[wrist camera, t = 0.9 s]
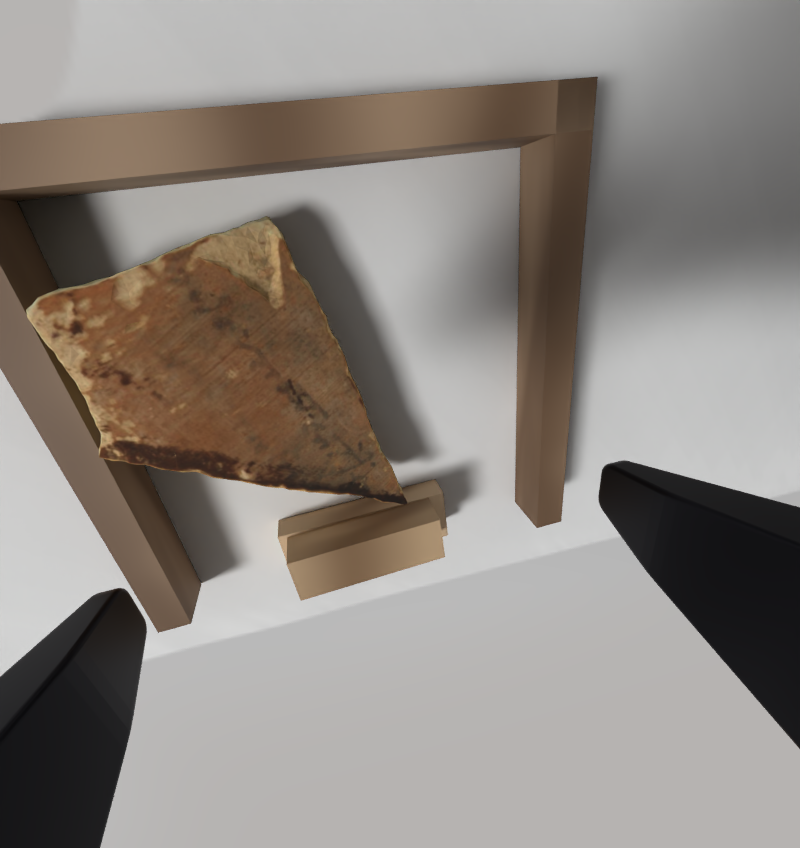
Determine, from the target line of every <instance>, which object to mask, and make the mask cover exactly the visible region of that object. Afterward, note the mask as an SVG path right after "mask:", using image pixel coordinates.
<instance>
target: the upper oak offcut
mask: <svg viewBox="0 0 800 848" xmlns="http://www.w3.org/2000/svg"><path fill="white" fill-rule="evenodd" d="M443 557H445V554H444V547H443V539H442V532H441V525H440V519H439V517H438V515H437V513H436V511H435V509H434V508H433V506H432V504H431V502H430V500H429V498H426V499H422V500H419V501H415V502H412V503H408V504H405V505H401V506H397V507H394V508H390V509H387V510H383V511H379V512H376V513H372V514H369V515H365V516H362V517H358V518H354V519H351V520H347V521H344V522H340V523H337V524H333V525H329V526H326V527H322V528H319V529H315V530H311V531H308V532H304V533H301V534H297V535H294V536H290V537H287V566H288V569H289V571H290V574H291V577H292V579H293V582H294V584H295V587H296V589H297V592H298V594H299V597H300V600H305V599H308V598H311V597H315V596H318V595H321V594H324V593H328V592H331V591H334V590H338V589H341V588H344V587H348V586H351V585H354V584H357V583H361V582H364V581H367V580H371V579H374V578H377V577H380V576H384V575H387V574H390V573H394V572H397V571H400V570H403V569H407V568H410V567H413V566H417V565H420V564H423V563H427V562H430V561H433V560H436V559H440V558H443Z"/></svg>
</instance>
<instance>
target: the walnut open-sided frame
mask: <svg viewBox="0 0 800 848" xmlns="http://www.w3.org/2000/svg"><path fill="white" fill-rule="evenodd" d="M597 78H598V77H589V78H576V79H564V80H551V81H538V82H526V83H513V84H500V85H488V86H475V87H462V88H449V89H437V90H424V91H411V92H399V93H386V94H373V95H361V96H348V97H335V98H322V99H310V100H297V101H284V102H272V103H259V104H246V105H234V106H221V107H208V108H195V109H183V110H170V111H157V112H145V113H132V114H119V115H107V116H94V117H81V118H68V119H56V120H43V121H30V122H18V123H5V124H0V368H1V370H2V372H3V373H4V375H5V377H6V378H7V380H8V382H9V383H10V385H11V387H12V388H13V390H14V392H15V393H16V395H17V397H18V398H19V400H20V402H21V404H22V405H23V407H24V409H25V410H26V412H27V414H28V415H29V417H30V419H31V420H32V422H33V424H34V425H35V427H36V429H37V430H38V432H39V434H40V435H41V437H42V439H43V440H44V442H45V444H46V445H47V447H48V449H49V450H50V452H51V454H52V455H53V457H54V459H55V460H56V462H57V464H58V465H59V467H60V469H61V471H62V472H63V474H64V476H65V477H66V479H67V481H68V482H69V484H70V486H71V487H72V489H73V491H74V492H75V494H76V496H77V497H78V499H79V501H80V502H81V504H82V506H83V507H84V509H85V511H86V512H87V514H88V516H89V517H90V519H91V521H92V522H93V524H94V526H95V527H96V529H97V531H98V532H99V534H100V536H101V537H102V539H103V541H104V543H105V544H106V546H107V548H108V549H109V551H110V553H111V554H112V556H113V558H114V559H115V561H116V563H117V564H118V566H119V568H120V569H121V571H122V573H123V574H124V576H125V578H126V579H127V581H128V583H129V584H130V586H131V588H132V589H133V591H134V593H135V594H136V596H137V598H138V599H139V601H140V603H141V604H142V606H143V608H144V609H145V611H146V613H147V615H148V616H149V618H150V620H151V621H152V623H153V625H154V626H155V628H156V630H157V631H158V633H159V632H162V631H166V630H169V629H173V628H177V627H180V626H184V625H187V624H191V622H192V618H193V614H194V610H195V606H196V602H197V599H198V595H199V591H200V587H201V583H200V580H199V578H198V576H197V574H196V572H195V570H194V568H193V566H192V564H191V562H190V560H189V558H188V556H187V554H186V551H185V549H184V547H183V545H182V543H181V541H180V539H179V537H178V535H177V533H176V531H175V529H174V527H173V524H172V522H171V520H170V518H169V516H168V514H167V512H166V510H165V508H164V506H163V504H162V502H161V500H160V498H159V495H158V493H157V491H156V489H155V487H154V485H153V483H152V481H151V479H150V477H149V475H148V473H147V471H146V469H145V466H144V465H136V464H130V463H127V462H125V461H111V460H108V459H104V458H99V447H100V444H101V433H100V431H99V429H98V427H97V426H96V423H95V420H94V418H93V416H92V414H91V413H90V410H89V407H88V404H87V401H86V399H85V398H84V396H83V395H82V393H81V392H80V390H79V388H78V386H77V384H76V382H75V381H74V380H73V378H72V377H71V376H70V375H69V373H68V372H67V371H66V369H65V367H64V366H63V364H62V363H61V362H60V361H59V360H58V358H57V356H56V354H55V353H54V351H53V350H52V349H50V348H49V347H48V345H47V344H46V343H45V342H44V341H43V339H42V338H41V336H40V335H39V333H38V332H37V331H36V329H35V328H34V326H33V325H32V323H31V322H30V321H29V319H28V318H27V312H26V309H28V308H29V307H30V306H31V305H32V304H33V303H34V302H35V301H36V299H37V298H38V297H40V296H42V295H45V294H47V293H50V292H52V291H55V290H58V289H59V288H58V286H57V284H56V282H55V280H54V278H53V276H52V274H51V272H50V270H49V268H48V265H47V263H46V261H45V259H44V257H43V255H42V253H41V251H40V249H39V247H38V245H37V243H36V241H35V239H34V236H33V234H32V232H31V230H30V228H29V226H28V224H27V222H26V220H25V218H24V216H23V214H22V212H21V210H20V207H19V205H18V203H17V201H21V200H31V199H40V198H49V197H59V196H68V195H78V194H87V193H96V192H106V191H115V190H124V189H134V188H143V187H152V186H162V185H171V184H180V183H190V182H199V181H208V180H218V179H227V178H236V177H246V176H255V175H265V174H274V173H283V172H293V171H302V170H311V169H321V168H330V167H339V166H349V165H358V164H367V163H377V162H386V161H395V160H405V159H414V158H423V157H433V156H442V155H451V154H461V153H470V152H480V151H489V150H498V149H508V148H517V147H521V153H520V218H519V283H518V348H517V413H516V478H515V502H516V503H517V505H518V506H519V507H520V508H521V509H522V511H523V512H524V513H525V514H526V515H527V517H528V518H529V519H530V520H531V521H532V523H533V524H534V525H535V526H536V527H537V528H539V527H542V526H546V525H549V524H553V523H557V522H560V521H561V515H562V503H563V491H564V479H565V467H566V455H567V443H568V430H569V418H570V406H571V394H572V382H573V370H574V357H575V345H576V333H577V321H578V309H579V297H580V285H581V272H582V260H583V248H584V236H585V224H586V212H587V199H588V187H589V175H590V163H591V151H592V139H593V127H594V114H595V102H596V90H597Z"/></svg>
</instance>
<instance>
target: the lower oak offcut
mask: <svg viewBox="0 0 800 848" xmlns="http://www.w3.org/2000/svg"><path fill="white" fill-rule="evenodd" d="M402 491H403V494H404V497H405V498H406V500H407V504H408V503H412V502H415V501H419V500H422V499H426V498H429V500H430V502H431V504H432V506H433V508H434V509H435V511H436V513H437V515H438V517H439V519H440V525H441V532H442V537H443V536H447V535H448V533H447V524H446V515H445V506H444V497H443V492H442V490H441V488H440V487H439V485H438V483H437V482H436V480H435V479H434V480H430V481H426V482H423V483H419V484H415V485H411V486H407V487H404V488H402ZM401 505H403V504H398V503H383V502H381V501H377V500H376V499H374V498H362V499H358V500H354V501H351V502H347V503H343V504H339V505H335V506H332V507H328V508H324V509H320V510H316V511H313V512H309V513H305V514H301V515H297V516H294V517H290V518H286V519H282V520H279V523H278V539H279V542H280V545H281V547H282V550H283V553H284V555H285V558H286V561H287V537H290V536H294V535H297V534H301V533H304V532H308V531H311V530H315V529H319V528H322V527H326V526H329V525H333V524H337V523H340V522H344V521H347V520H351V519H354V518H358V517H362V516H365V515H369V514H372V513H376V512H379V511H383V510H387V509H390V508H394V507H397V506H401Z"/></svg>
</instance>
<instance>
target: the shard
mask: <svg viewBox="0 0 800 848" xmlns="http://www.w3.org/2000/svg"><path fill="white" fill-rule="evenodd" d="M26 312H27V318H28V319H29V321H30V322H31V323H32V325H33V326H34V328H35V329H36V331H37V332H38V333H39V335H40V336H41V338H42V339H43V341H44V342H45V343H46V344H47V345H48V347H49V348H50V349H52V350H53V351H54V353H55V354H56V356H57V358H58V360H59V361H60V362H61V363H62V364H63V366H64V367H65V369H66V371H67V372H68V373H69V375H70V376H71V377H72V378H73V380H74V381H75V382H76V384H77V386H78V388H79V390H80V392H81V393H82V395H83V396H84V398H85V399H86V401H87V404H88V407H89V410H90V413H91V414H92V416H93V418H94V420H95V423H96V426H97V427H98V429H99V431H100V433H101V444H100V447H99V458H104V459H108V460H111V461H125V462H127V463H130V464H136V465H148V466H151V467H154V468H158V469H162V470H170V471H178V472H199V473H202V474H204V475H207V476H210V477H213V478H220V479H228V480H237V481H243V482H247V483H252V484H256V485H261V486H266V487H274V488H285V489H288V490H299V491H306V492H316V493H327V494H338V495H341V494H349V495H357V496H363V497H366V498H374V499H376V500H377V501H381V502H383V503H398V504H403V505H405V504H407V500H406V498H405V497H404V494H403V491H402V488H401V486H400V485H399V484H398V481H397V478H396V476H395V474H394V471H393V469H392V467H391V465H390V463H389V462H388V460H387V459H386V457H385V455H384V454H383V452H382V451H381V449H380V445H379V443H378V441H377V439H376V436H375V434H374V432H373V430H372V428H371V424H370V422H369V419H368V417H367V414H366V409H365V406H364V402H363V399H362V397H361V395H360V392H359V390H358V388H357V386H356V384H355V382H354V380H353V378H352V376H351V374H350V372H349V369H348V366H347V362H346V359H345V356H344V354H343V352H342V349H341V347H340V346H339V344H338V340H337V339H336V337H335V336H334V335H333V334H332V332H331V329H330V327H329V325H328V321H327V316H326V315H325V313H324V312H323V311H322V309H321V307H320V305H319V303H318V301H317V299H316V297H315V295H314V292H313V290H312V288H311V286H310V284H309V282H308V281H307V280H306V279H305V278H304V277H303V276H302V275H301V274H300V273H299V272H298V271H297V269H296V267H295V264H294V262H293V259H292V257H291V254H290V252H289V249H288V247H287V244H286V242H285V239H284V237H283V234H282V233H281V232H280V230H279V229H278V228H277V227H276V226H275V225H274V224H273V222H272V221H271V219H270V218H269V217H267V216H265V217H263V218H261V219H258V220H255V221H251V222H247V223H245V224H244V225H242V226H241V227H238V228H233V229H231V230H229V231H226V232H223V233H217V234H210V235H208V236H205V237H203V238H201V239H198V240H196V241H194V242H192V243H190V244H187V245H184V246H181V247H178V248H176V249H174V250H171V251H169V252H167V253H165V254H163V255H161V256H159V257H157V258H155V259H153V260H150V261H148V262H145V263H143V264H140V265H138V266H136V267H134V268H131V269H129V270H126V271H122V272H120V273H117V274H115V275H114V276H111V277H107V278H102V279H97V280H94V281H92V282H89V283H86V284H83V285H79V286H75V287H68V288H60V289H58V290H55V291H52V292H50V293H47V294H45V295H42V296H40V297H38V298H37V299H36V301H35V302H34V303H33V304H32V305H31V306H30V307H29V308H28V309H26Z"/></svg>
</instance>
